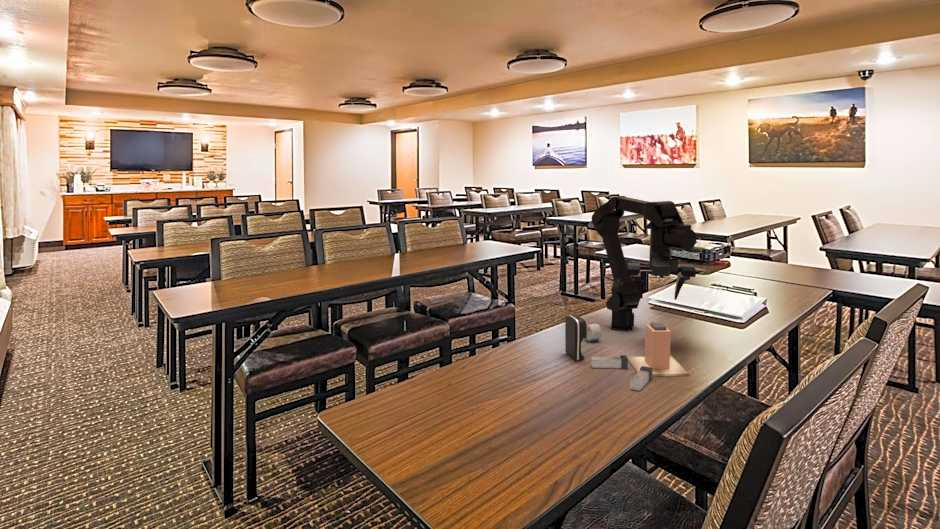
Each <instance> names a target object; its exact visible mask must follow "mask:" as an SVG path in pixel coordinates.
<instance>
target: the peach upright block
mask: <svg viewBox="0 0 940 529" xmlns="http://www.w3.org/2000/svg"><path fill="white" fill-rule="evenodd" d="M644 340H645V341H644V357H645V362H646V363H647V364H648V366H649V367H650V368H653V369H669V365H670V356H671V342H672V341H671V340H672V331H671V330H670V329H669V328H668V327H667V326H666V325H665V324H664V323H663V322H650V323H649V324H645V338H644Z"/></svg>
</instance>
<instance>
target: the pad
mask: <svg viewBox="0 0 940 529" xmlns="http://www.w3.org/2000/svg"><path fill="white" fill-rule="evenodd" d="M627 358H628V363H629V365H630V366H631V367H632V368H633V370H634V371H635V373H636V374H637V373H638V372H639V371H640V368H641V367H642V366H645V367H649V366H648V364H647V363H646V362H645V356H627ZM689 375H690V374H689V372H688V371H687V370H686V369H685V368H683V366H682V364H680V363H679V362H678V361H677V360H676V359H675V358H674V357H673V356H672V355H670V365H669V369H653V374H652V377H687V376H689Z"/></svg>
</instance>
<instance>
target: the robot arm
mask: <svg viewBox="0 0 940 529" xmlns="http://www.w3.org/2000/svg"><path fill="white" fill-rule="evenodd" d="M625 212H628V213H632V214H637V215H641V216H642V217H643V218H644V219H645V220H647V221H649V223H647V224H646V225H645V226H644V228H645V229H646V230H647V229H648V230H649V232H650V233H649V235H650V236H649V257H648V258H649V260H648V263H649V264H648V265H641V264H640V262H626V258H625V255H624V251H623V247H622V245H621V244H622V243H621V240H620V237H619V231H620V227H621V221H620V220H621V218H623V216H625ZM591 223H592V226H593V229H594V230H595V232H596V233H597V234H598V235H599V236H600V237H601V239H602V241H603V242H602V243H603V245H604V249H605V253H606V256H607V260H608V264H609V268H610V271H611V272H610V273H611V275H612V279H613V282H612V285H611V288H610V290H611V296H610V297H609V298H608V300H606V302H605V305H606V309H607V310H609V311H611V324H610V325H611V326H610V329H611V330H617V331H618V330H622V331H633V328H634V327H635V313H634V312H633V310H634V309H638V308H639V305H640V301H641V299H643V297H644V296H643V295H644V294H643V293H644V292H643V286H642V276H641V274H642V273H651V276H654V277H658V276H661V277H662V276H663V277H670V276H671V274H677V275H676V281H675V287H674V301H675V300H677V299H678V297H679V294H680V292H681V289H682V287H683V285H684V284H685V282H686V281H690V280H691V278H696V276H697V273H696V272H697V271H696V270H697V269H696V267H695V266H694V264H693V263H679V258H678V257H677V258H674V257H672V249H678V250H684V251H691V250H692V249H693V248H694V247H695V245H696V243H697V236H696V233H695V231H694V230H693V229H692V225H691V224H685V223H684V221H683V218H682V217H681V215H680V213H679V211H678V209H677V207H676V204H675V202H673V201H672V200H665V201H664V200H663V201H648V200H643V199H639V198H632V197H628V196H626V195H618V196H617V195H615V196H611V197H610V198H609V199H608V201H607V202H605V203H603V204H602V205H600V206H599V207H598V208H597V209H596V210H594V211H593V214H592V216H591Z"/></svg>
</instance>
